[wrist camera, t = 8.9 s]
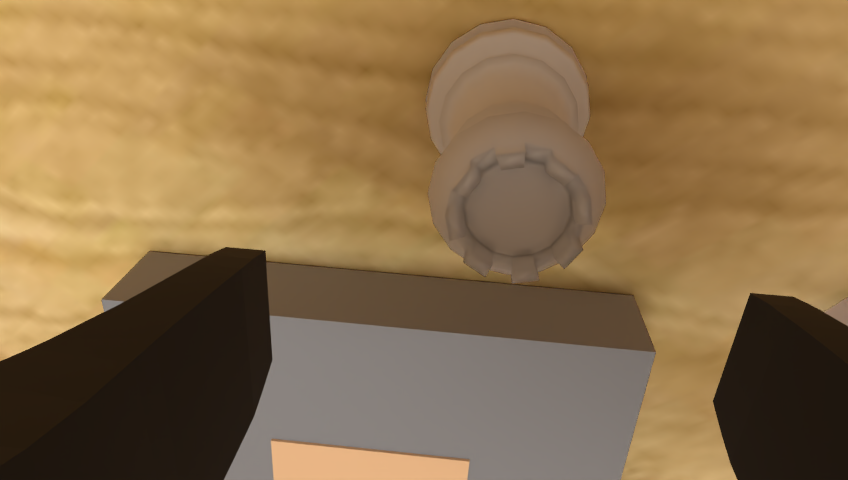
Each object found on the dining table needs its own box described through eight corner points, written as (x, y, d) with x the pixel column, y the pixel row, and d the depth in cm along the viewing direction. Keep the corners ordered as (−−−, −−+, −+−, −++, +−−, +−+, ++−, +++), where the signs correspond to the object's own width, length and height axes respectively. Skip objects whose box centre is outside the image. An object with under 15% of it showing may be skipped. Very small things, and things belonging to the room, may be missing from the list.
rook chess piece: (497, 201, 20) (503, 366, 12) (394, 93, 18) (337, 209, 11) (619, 104, 18) (706, 232, 11) (516, -22, 17) (537, 29, 10)
